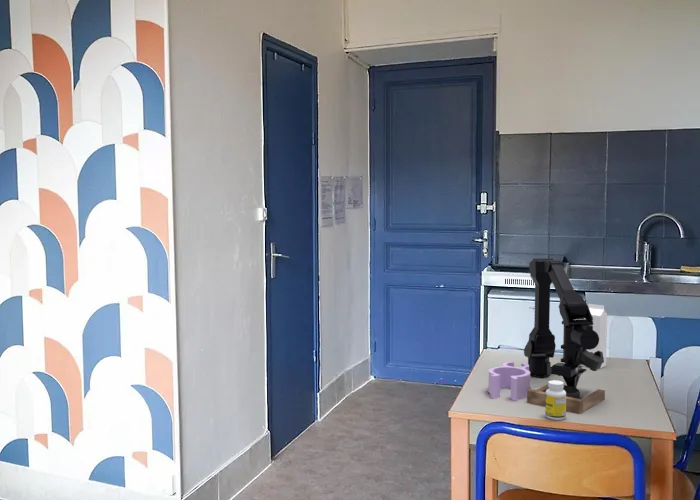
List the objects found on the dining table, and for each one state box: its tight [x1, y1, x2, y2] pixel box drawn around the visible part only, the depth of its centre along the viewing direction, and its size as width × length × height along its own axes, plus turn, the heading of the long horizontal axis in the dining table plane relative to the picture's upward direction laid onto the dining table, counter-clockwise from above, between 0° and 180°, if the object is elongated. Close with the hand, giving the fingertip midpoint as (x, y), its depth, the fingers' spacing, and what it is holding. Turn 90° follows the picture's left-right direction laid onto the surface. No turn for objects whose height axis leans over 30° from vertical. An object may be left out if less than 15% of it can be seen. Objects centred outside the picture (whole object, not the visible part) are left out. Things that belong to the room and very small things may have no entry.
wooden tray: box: [526, 383, 606, 415], centre depth 199 cm, size 16×18×4 cm
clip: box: [487, 360, 531, 402], centre depth 209 cm, size 20×12×7 cm, turn 154°
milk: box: [582, 303, 608, 370], centre depth 237 cm, size 6×6×22 cm
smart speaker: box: [563, 384, 581, 399], centre depth 198 cm, size 9×9×4 cm
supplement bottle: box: [544, 379, 567, 421], centre depth 184 cm, size 5×5×10 cm
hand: (572, 392), depth 202 cm, fingers closed
